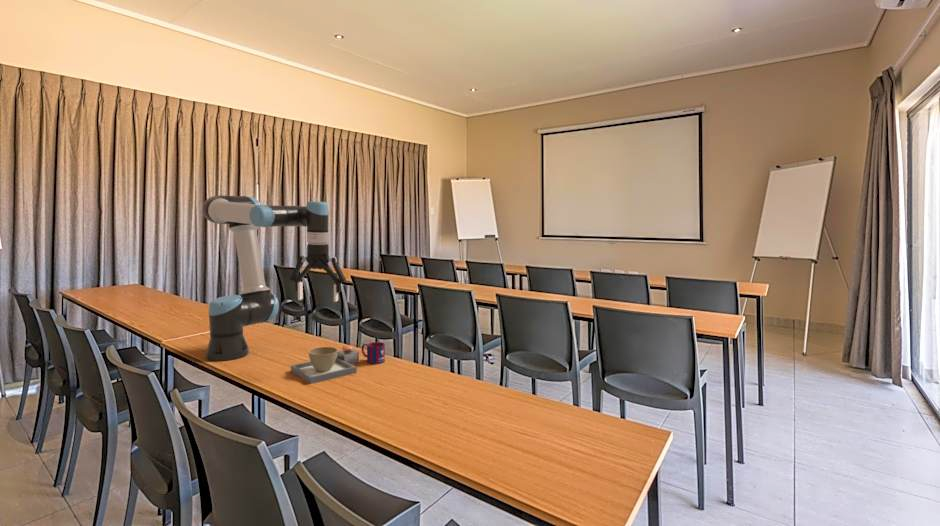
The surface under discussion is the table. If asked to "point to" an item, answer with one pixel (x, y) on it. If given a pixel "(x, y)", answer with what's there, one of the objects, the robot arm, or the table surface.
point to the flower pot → (323, 358)
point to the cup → (375, 352)
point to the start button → (347, 348)
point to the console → (349, 356)
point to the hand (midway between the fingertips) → (318, 300)
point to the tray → (313, 376)
